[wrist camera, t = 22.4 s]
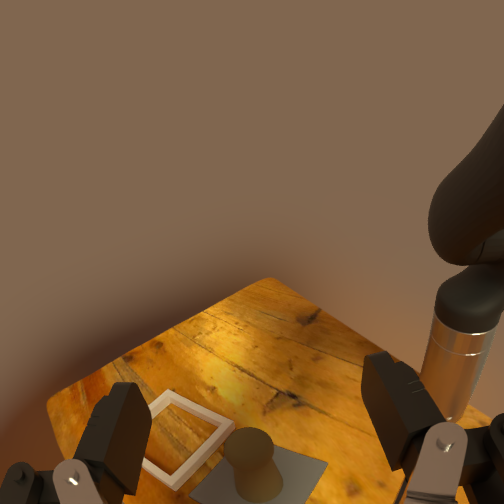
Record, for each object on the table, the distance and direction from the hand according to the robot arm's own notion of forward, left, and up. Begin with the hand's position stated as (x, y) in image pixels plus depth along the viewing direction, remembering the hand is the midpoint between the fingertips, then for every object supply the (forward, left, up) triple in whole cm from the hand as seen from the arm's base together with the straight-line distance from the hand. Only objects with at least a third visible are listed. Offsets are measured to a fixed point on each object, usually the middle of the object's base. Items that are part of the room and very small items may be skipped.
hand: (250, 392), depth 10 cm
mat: (-7, -8, -30) cm, 32 cm away
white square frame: (-7, -24, -30) cm, 39 cm away
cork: (-7, -8, -30) cm, 32 cm away
